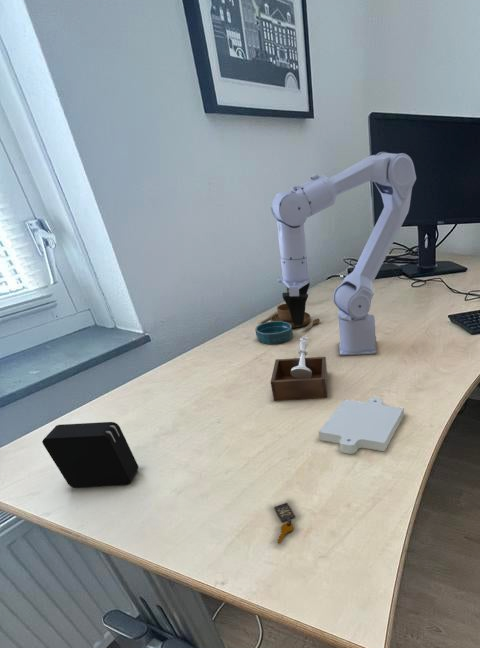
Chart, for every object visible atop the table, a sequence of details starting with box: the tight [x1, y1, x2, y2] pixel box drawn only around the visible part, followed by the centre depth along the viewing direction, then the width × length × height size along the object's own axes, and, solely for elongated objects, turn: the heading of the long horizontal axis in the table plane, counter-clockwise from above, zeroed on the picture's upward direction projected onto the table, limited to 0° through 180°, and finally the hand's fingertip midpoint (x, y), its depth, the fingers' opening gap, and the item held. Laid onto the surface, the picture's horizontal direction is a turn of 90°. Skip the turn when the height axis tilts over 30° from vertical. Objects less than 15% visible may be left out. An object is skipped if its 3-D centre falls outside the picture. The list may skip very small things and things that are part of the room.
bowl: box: [254, 321, 294, 345], centre depth 122 cm, size 10×10×3 cm
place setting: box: [260, 288, 321, 332], centre depth 133 cm, size 18×20×6 cm
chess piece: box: [290, 335, 312, 379], centre depth 100 cm, size 5×5×10 cm
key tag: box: [273, 502, 296, 544], centre depth 65 cm, size 8×3×1 cm, turn 15°
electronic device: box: [41, 421, 139, 489], centre depth 71 cm, size 4×10×10 cm, turn 95°
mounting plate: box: [318, 397, 405, 455], centre depth 85 cm, size 18×13×2 cm
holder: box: [270, 356, 328, 402], centre depth 98 cm, size 12×12×4 cm
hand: (299, 319), depth 104 cm, fingers open, 7 cm apart
